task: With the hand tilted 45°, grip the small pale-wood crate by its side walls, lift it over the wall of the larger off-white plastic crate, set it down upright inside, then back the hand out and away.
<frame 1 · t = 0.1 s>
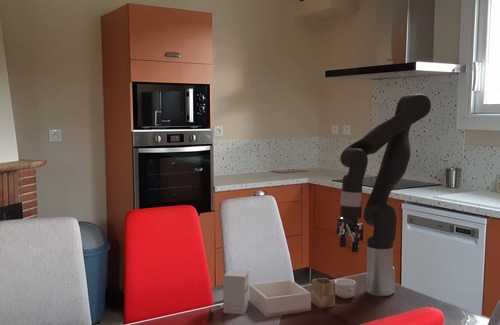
hand: (348, 249, 179), 17 cm above the table, tool pointing down, fingers open, 8 cm apart
supplement box: (236, 310, 168), on the table
small wooden crate: (323, 303, 174), on the table
teacup: (346, 297, 181), on the table
big plastic crate: (279, 305, 172), on the table
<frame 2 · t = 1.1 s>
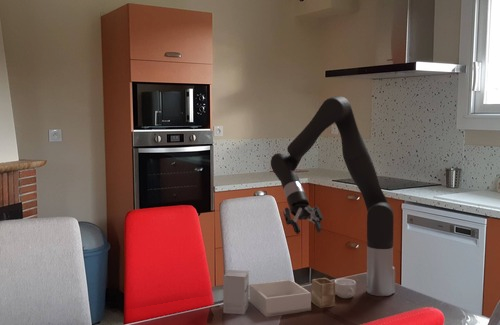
hand: (309, 232, 182), 23 cm above the table, tool tilted 45°, fingers open, 8 cm apart
nothing on the table moved.
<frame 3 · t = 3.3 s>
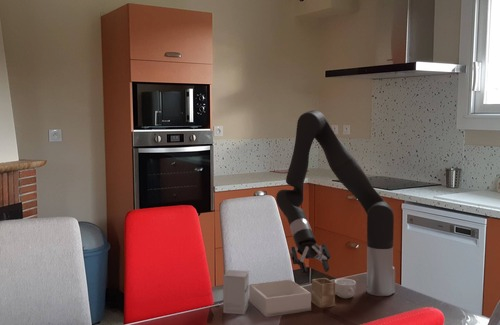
hand: (316, 272, 178), 10 cm above the table, tool tilted 45°, fingers open, 8 cm apart
nothing on the table moved.
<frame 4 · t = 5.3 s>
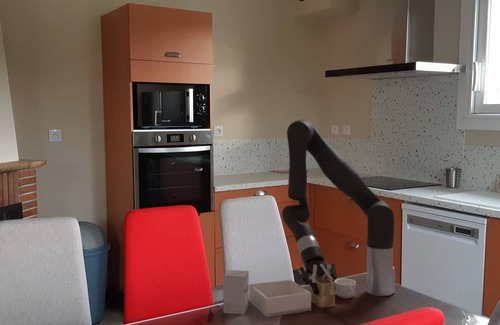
hand: (325, 293, 172), 4 cm above the table, tool tilted 45°, fingers closed on small wooden crate, 5 cm apart
small wooden crate: (323, 303, 174), on the table, touching gripper
everything else where it was.
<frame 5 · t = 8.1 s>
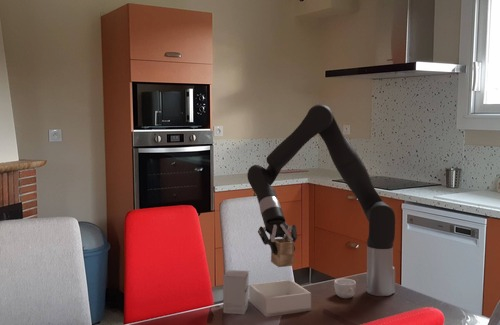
hand: (284, 252, 170), 19 cm above the table, tool tilted 45°, fingers closed on small wooden crate, 5 cm apart
small wooden crate: (282, 263, 172), point 14 cm above the table, touching gripper
everything else where it was.
when the fingers open (6 cm above the table, at t = 11.1 s): small wooden crate stays where it is, resting on big plastic crate.
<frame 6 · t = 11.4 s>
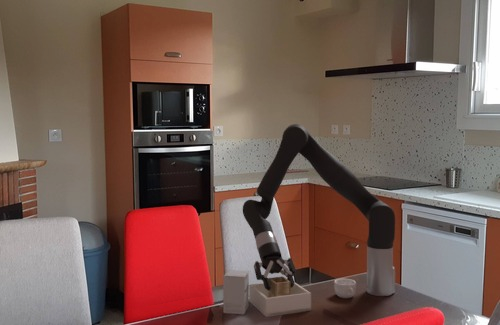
hand: (280, 288, 170), 7 cm above the table, tool tilted 45°, fingers open, 8 cm apart
small wooden crate: (279, 302, 172), point 1 cm above the table, touching big plastic crate
everything else where it was.
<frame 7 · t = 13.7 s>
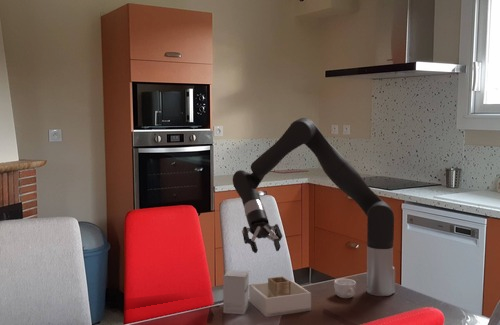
hand: (267, 251, 181), 17 cm above the table, tool tilted 45°, fingers open, 8 cm apart
nothing on the table moved.
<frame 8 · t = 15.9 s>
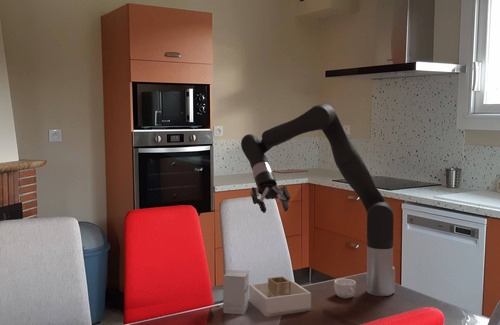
hand: (275, 210, 183), 31 cm above the table, tool tilted 45°, fingers open, 8 cm apart
nothing on the table moved.
at the end: small wooden crate inside the target area on the big plastic crate (0.1 cm from its centre), point 1.0 cm above the big plastic crate's base; small wooden crate tilted 0°; the gripper is holding nothing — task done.
